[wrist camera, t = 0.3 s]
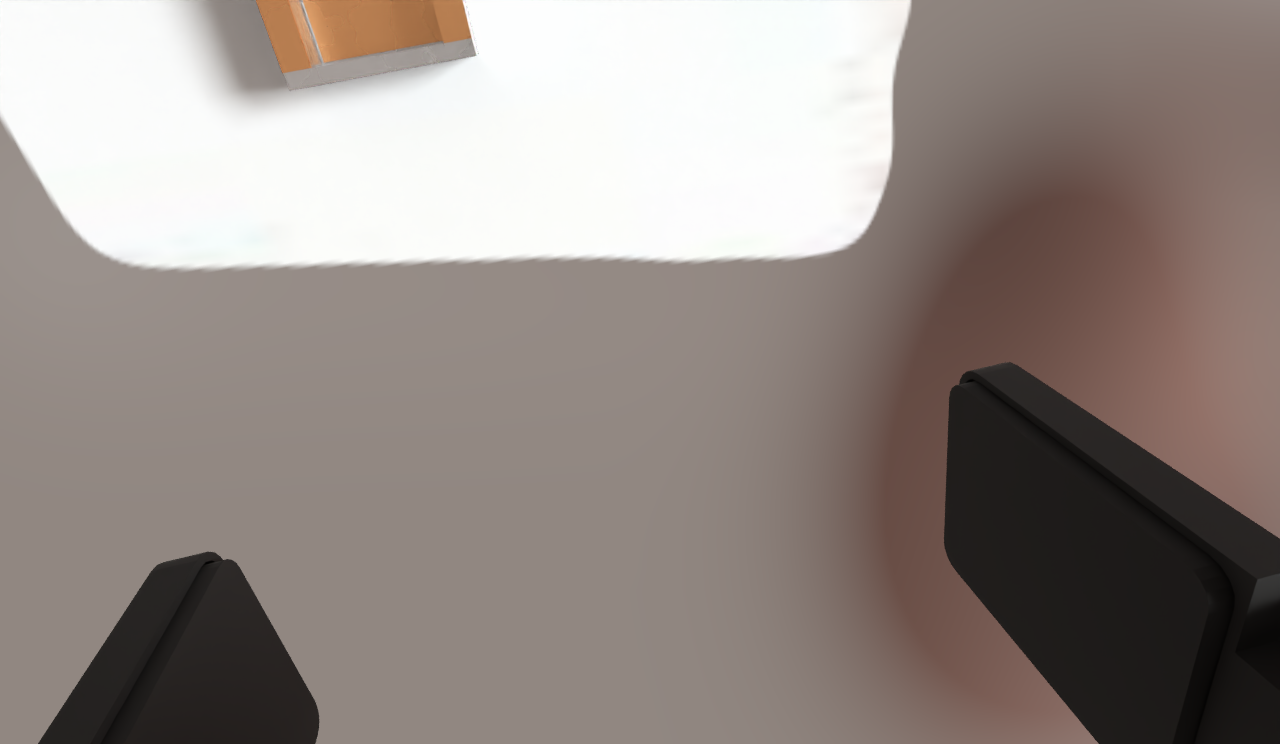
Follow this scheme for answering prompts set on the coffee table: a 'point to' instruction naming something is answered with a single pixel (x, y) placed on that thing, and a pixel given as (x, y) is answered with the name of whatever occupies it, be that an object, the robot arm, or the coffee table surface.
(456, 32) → the rail
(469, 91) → the coffee table surface
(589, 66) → the coffee table surface
